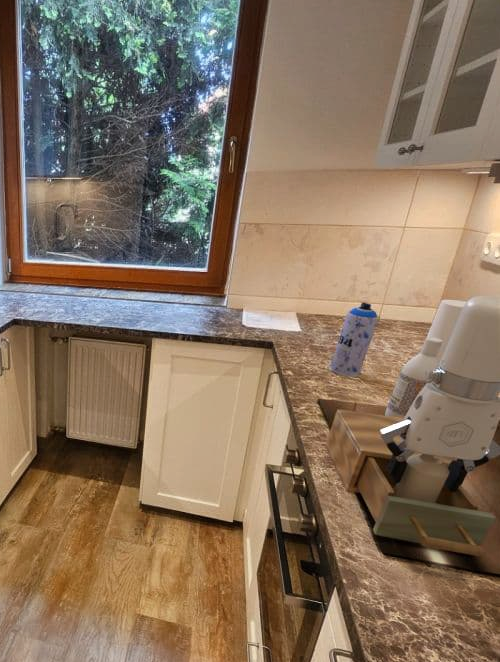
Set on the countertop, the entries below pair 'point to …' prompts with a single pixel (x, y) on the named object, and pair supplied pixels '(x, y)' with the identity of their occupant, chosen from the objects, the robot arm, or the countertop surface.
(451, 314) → the cylindrical container
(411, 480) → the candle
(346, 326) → the aerosol can
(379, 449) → the cabinet
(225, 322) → the countertop surface
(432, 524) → the drawer
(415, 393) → the bath foam
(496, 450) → the robot arm
